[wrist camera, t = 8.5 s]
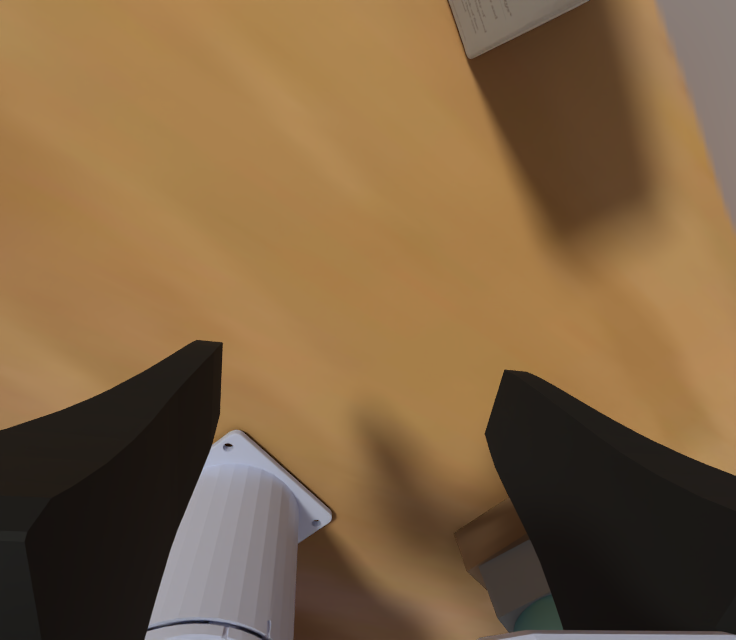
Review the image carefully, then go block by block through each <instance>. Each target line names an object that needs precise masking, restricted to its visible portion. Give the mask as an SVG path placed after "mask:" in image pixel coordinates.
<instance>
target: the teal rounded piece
mask: <svg viewBox="0 0 736 640" xmlns="http://www.w3.org/2000/svg"><path fill="white" fill-rule="evenodd" d="M523 630H563V627H562V624H561V621H560V618H559V615H558V612H557V609H556V606H555V603H554V600H553V597H552V594H551V595H548V596H545V597H543V598H541V599H539V600H537V601H535V602H534V603H532V604H531V605H530V606H528V607H527V608H526V609H525V610H524V611H523V612H522V613H521V615H520V616H519V617H518V619H517V621H516V623H515V626H514V632H517V631H523Z"/></svg>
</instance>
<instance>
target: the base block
mask: <svg viewBox="0 0 736 640" xmlns="http://www.w3.org/2000/svg"><path fill="white" fill-rule="evenodd" d="M454 535H455V538H456V541H457V544H458V547H459V550H460V552H461V555H462V558H463V561H464V564H465V567H466V570H467V572H468V573H469V574H470V575H471V576H472V577H474V578H475V579H476V580H477V581H478V582H479V583H480V584H481V585H482V586H483V587H484V588H485V589H486V590H487V588H486V585H485V583H484V580H483V577H482V575H481V572H480V569H479V566H480V565H482V564H484V563H486V562H487V561H489V560H491V559H493V558H495V557H497V556H499V555H501V554H503V553H504V552H506V551H508V550H510V549H512V548H514V547H516V546H518V545H520V544H522V543H523V542H525V541H527V540H529V537H528V535H527V533H526V531H525V528H524V526H523V524H522V522H521V520H520V518H519V516H518V514H517V512H516V510H515V508H514V506H513V504H512V502H511V500H510V498H507V499H505V500H504V501H502V502H501V503H499V504H498V505H496V506H495V507H493V508H492V509H490V510H489V511H487V512H486V513H484V514H482V515H481V516H479V517H478V518H476V519H475V520H473V521H472V522H470V523H469V524H467V525H466V526H464V527H462V528H461V529H459V530H458V531H456V532H455V533H454Z"/></svg>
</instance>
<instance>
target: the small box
mask: <svg viewBox="0 0 736 640" xmlns="http://www.w3.org/2000/svg"><path fill="white" fill-rule="evenodd" d="M448 1H449V4H450V6H451V9H452V12H453V15H454V18H455V21H456V24H457V27H458V30H459V33H460V36H461V39H462V42H463V45H464V48H465V52H466V55H467V57H468V58H469V59H472V58H475V57H477V56H479V55H481V54H483V53H485V52H487V51H489V50H491V49H493V48H495V47H497V46H499V45H501V44H503V43H505V42H508V41H510V40H512V39H514V38H516V37H518V36H520V35H522V34H524V33H526V32H528V31H530V30H532V29H534V28H536V27H538V26H540V25H542V24H544V23H546V22H548V21H550V20H552V19H554V18H556V17H558V16H560V15H562V14H564V13H566V12H568V11H570V10H572V9H574V8H576V7H578V6H580V5H582V4H584V3H585V2H587V1H589V0H448Z"/></svg>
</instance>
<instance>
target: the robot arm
mask: <svg viewBox="0 0 736 640" xmlns="http://www.w3.org/2000/svg"><path fill="white" fill-rule="evenodd" d="M222 348H223V343H222V342H212V341H202V340H196V341H194V342H192V343H190V344H188V345H187V346H185V347H183V348H182V349H180V350H178V351H177V352H175V353H174V354H172V355H170V356H169V357H167V358H166V359H164V360H162V361H161V362H159V363H157V364H156V365H154V366H152V367H151V368H149V369H147V370H145V371H144V372H142V373H140V374H138V375H136V376H134V377H132V378H130V379H129V380H127V381H125V382H123V383H121V384H119V385H117V386H115V387H113V388H112V389H110V390H108V391H105V392H103V393H101V394H99V395H97V396H95V397H92V398H90V399H88V400H85V401H83V402H80V403H78V404H76V405H73V406H71V407H68V408H66V409H63V410H61V411H58V412H55V413H52V414H49V415H46V416H43V417H40V418H37V419H34V420H31V421H28V422H25V423H22V424H19V425H16V426H13V427H10V428H7V429H4V430H0V640H293V638H294V616H295V595H296V573H297V551H298V543H300V542H301V541H303V540H304V539H306V538H307V537H309V536H310V535H312V534H313V533H314V532H316V531H317V530H319V529H320V528H322V527H323V526H325V525H326V524H328V523H329V522H330V521H331V519H332V512H331V510H330V509H329V508H328V507H327V506H325V505H324V504H323V503H322V502H321V501H320V500H319V499H318V498H317V497H315V496H314V495H313V494H312V493H311V492H310V491H309V490H308V489H306V488H305V487H304V486H303V485H302V484H301V483H300V482H299V481H297V480H296V479H295V478H294V477H293V476H292V475H291V474H290V473H289V472H287V471H286V470H285V469H284V468H283V467H282V466H281V465H280V464H278V463H277V462H276V461H275V460H274V459H273V458H272V457H271V456H269V455H268V454H267V453H266V452H265V451H264V450H263V449H262V448H261V447H259V446H258V445H257V444H256V443H255V442H254V441H253V440H252V439H250V438H249V437H248V436H247V435H246V434H245V433H244V432H242V431H240V430H233V431H230V432H229V433H227V434H226V435H225V436H223V437H222V438H221V439H219V440H218V441H217V442H215V443H214V444H213V445H212V443H213V439H214V435H215V431H216V427H217V423H218V419H219V415H220V398H221V373H222ZM485 436H486V440H487V443H488V447H489V450H490V453H491V456H492V459H493V462H494V465H495V468H496V470H497V472H498V475H499V477H500V479H501V481H502V483H503V485H504V487H505V489H506V492H507V494H508V496H509V498H510V500H511V502H512V504H513V506H514V508H515V510H516V512H517V514H518V516H519V518H520V520H521V522H522V524H523V526H524V528H525V531H526V533H527V535H528V537H529V539H530V541H531V543H532V545H533V547H534V550H535V552H536V554H537V557H538V559H539V561H540V564H541V567H542V569H543V572H544V575H545V578H546V580H547V583H548V586H549V589H550V591H551V594H552V597H553V600H554V603H555V606H556V609H557V612H558V615H559V618H560V621H561V624H562V627H563V630H523V631H517V632H511V633H505V634H499V635H493V636H487V637H481V638H478V639H477V640H736V476H735V475H732V474H729V473H727V472H724V471H722V470H719V469H717V468H714V467H711V466H709V465H706V464H704V463H701V462H699V461H697V460H694V459H692V458H689V457H687V456H685V455H683V454H680V453H678V452H676V451H674V450H672V449H670V448H667V447H665V446H663V445H661V444H659V443H657V442H654V441H652V440H650V439H648V438H646V437H644V436H642V435H640V434H638V433H637V432H635V431H633V430H631V429H629V428H627V427H625V426H623V425H622V424H620V423H618V422H616V421H614V420H612V419H611V418H609V417H607V416H605V415H604V414H602V413H600V412H598V411H597V410H595V409H593V408H591V407H590V406H588V405H586V404H585V403H583V402H581V401H579V400H578V399H576V398H574V397H573V396H571V395H569V394H568V393H566V392H564V391H563V390H561V389H559V388H557V387H556V386H554V385H552V384H550V383H549V382H547V381H545V380H543V379H541V378H539V377H537V376H535V375H533V374H531V373H528V372H524V371H513V370H504V373H503V376H502V379H501V383H500V386H499V389H498V392H497V396H496V399H495V402H494V405H493V409H492V412H491V415H490V418H489V422H488V425H487V428H486V431H485ZM226 443H230V444H232V445H233V446H232V447H228V446H226V445H225V444H226ZM314 520H319V521H314Z"/></svg>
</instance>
